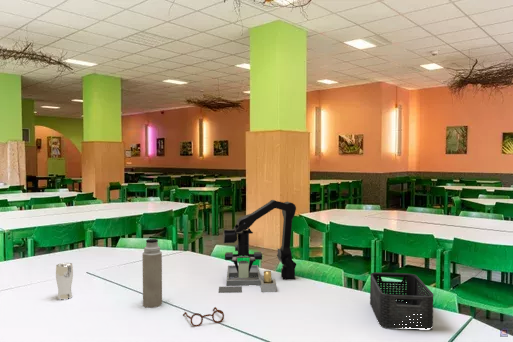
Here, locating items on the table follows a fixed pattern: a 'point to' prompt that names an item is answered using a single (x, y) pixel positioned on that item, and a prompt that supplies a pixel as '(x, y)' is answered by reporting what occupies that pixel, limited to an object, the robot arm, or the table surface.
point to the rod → (267, 277)
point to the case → (233, 273)
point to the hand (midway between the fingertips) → (243, 272)
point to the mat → (230, 289)
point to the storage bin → (401, 301)
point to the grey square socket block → (268, 286)
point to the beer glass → (64, 280)
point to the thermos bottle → (152, 274)
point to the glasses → (205, 316)
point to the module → (243, 269)
